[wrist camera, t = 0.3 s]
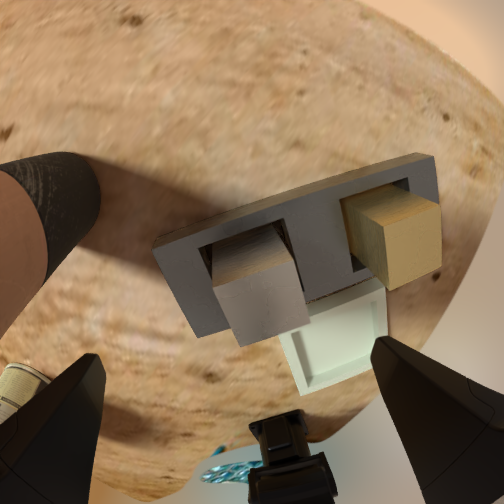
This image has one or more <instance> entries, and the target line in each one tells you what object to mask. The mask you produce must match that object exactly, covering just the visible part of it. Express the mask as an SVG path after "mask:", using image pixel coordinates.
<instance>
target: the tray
mask: <svg viewBox="0 0 504 504" xmlns="http://www.w3.org/2000/svg"><path fill="white" fill-rule="evenodd" d="M306 307H307V310H308V314H309V318H310V321H311V323H310V324H307V325H305V326H302V327H299V328H296V329H294V330H291V331H288V332H285V333H282V334H279V335H278V336H279V339H280V341H281V344H282V347H283V350H284V352H285V355H286V358H287V360H288V363H289V366H290V369H291V371H292V374H293V377H294V379H295V382H296V385H297V388H298V390H299V393H300V396H303V395H306V394H309V393H311V392H314V391H317V390H320V389H322V388H325V387H328V386H330V385H333V384H336V383H338V382H341V381H343V380H346V379H348V378H350V377H353V376H355V375H358V374H360V373H362V372H364V371H367V370H369V369H371V368H373V367H372V364H371V361H370V355H371V351H372V348H373V345H374V342H375V339H376V338H377V337H380V336H385V335H387V336H388V328H387V306H386V291H385V286H384V285H383V284H382V283H381V282H380V281H379V280H378V279H377V278H376V277H375V278H372V279H370V280H368V281H365V282H363V283H360V284H358V285H355V286H353V287H350V288H348V289H345V290H343V291H340V292H338V293H335V294H332V295H330V296H327V297H325V298H322V299H319V300H317V301H314V302H311V303H309V304H306Z"/></svg>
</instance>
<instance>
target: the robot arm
mask: <svg viewBox="0 0 504 504" xmlns="http://www.w3.org/2000/svg"><path fill="white" fill-rule="evenodd" d="M370 361H371V364H372V367H373V370H374V373H375V376H376V379H377V382H378V386H379V389H380V392H381V395H382V397H383V400H384V402H385V404H386V407H387V409H388V411H389V413H390V415H391V418H392V420H393V422H394V425H395V427H396V429H397V432H398V434H399V436H400V438H401V441H402V444H403V446H404V448H405V451H406V453H407V456H408V458H409V461H410V463H411V465H412V468H413V471H414V473H415V475H416V478H417V481H418V483H419V486H420V489H421V491H422V495H423V497H424V500H425V503H426V504H504V395H503V394H501V393H499V392H496V391H494V390H492V389H489V388H487V387H485V386H483V385H481V384H479V383H477V382H475V381H473V380H471V379H469V378H466V377H465V376H463V375H461V374H459V373H458V372H456V371H454V370H452V369H450V368H448V367H446V366H444V365H442V364H441V363H439V362H437V361H435V360H433V359H431V358H429V357H427V356H425V355H423V354H422V353H420V352H418V351H416V350H414V349H412V348H410V347H409V346H407V345H405V344H403V343H401V342H399V341H397V340H396V339H394V338H392V337H390V336H387V335H385V336H380V337H377V338H376V339H375V342H374V345H373V348H372V351H371V355H370ZM105 384H106V372H105V370H104V367H103V365H102V362H101V359H100V357H99V355H98V354H94V353H86V354H84V355H83V356H82V357H81V358H79V359H78V360H77V361H76V362H74V363H73V364H72V365H71V366H69V367H68V368H67V369H66V370H65V371H63V372H62V373H61V374H60V375H59V376H57V377H56V378H55V379H54V380H52V381H51V382H50V383H49V384H48V385H46V386H45V387H44V388H43V389H42V390H40V391H39V392H38V393H37V394H36V395H35V396H33V397H32V398H31V399H30V400H29V401H27V402H26V403H25V404H24V405H23V406H22V407H20V408H19V409H18V410H17V412H14V413H13V414H12V415H11V416H10V417H9V418H7V419H6V420H5V421H4V422H2V423H1V424H0V504H88V500H89V492H90V491H89V490H90V483H91V476H92V470H93V463H94V457H95V451H96V446H97V440H98V435H99V430H100V425H101V419H102V412H103V402H104V392H105ZM249 429H250V431H251V432H252V433H253V435H254V436H255V438H256V439H257V440H258V442H259V444H260V450H261V455H262V461H263V466H264V467H260V468H250V473H249V474H248V481H249V494H248V503H249V504H335V502H334V499H333V497H336V496H338V492H337V487H336V483H335V480H334V477H333V474H332V472H331V469H330V467H329V464H328V462H327V459H326V457H325V454H324V452H320V453H319V454H316V455H312V456H311V454H310V450H309V447H308V443H307V440H306V437H305V436H306V435H308V434H309V433H308V430H307V427H306V425H305V422H304V420H303V417H302V415H301V412H300V411H299V410H296V411H293V412H289V413H286V414H283V415H280V416H276V417H273V418H269V419H266V420H262V421H259V422H255V423H251V424H249Z"/></svg>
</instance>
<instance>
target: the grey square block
mask: <svg viewBox="0 0 504 504" xmlns="http://www.w3.org/2000/svg"><path fill="white" fill-rule="evenodd" d="M212 288H213V291H214V293H215V295H216V297H217V299H218V301H219V304H220V306H221V308H222V310H223V312H224V314H225V316H226V318H227V321H228V323H229V325H230V327H231V329H232V331H233V333H234V335H235V337H236V339H237V341H238V343H239V345H240V347H243V346H246V345H249V344H252V343H255V342H259V341H262V340H265V339H268V338H271V337H274V336H276V335H279V334H282V333H285V332H288V331H291V330H294V329H296V328H299V327H302V326H305V325H307V324H310V323H311V321H310V318H309V314H308V310H307V307H306V303H305V299H304V296H303V292H302V288H301V285H300V281H299V278H298V274H297V271H296V267H295V264H294V260H293V258H292V257H291V255H290V253H289V252H288V250H287V248H286V247H285V245H284V243H283V242H282V240H281V238H280V237H279V235H278V233H277V232H276V230H275V229H274V227H273V225H272V224H271V222H270V223H267V224H264V225H261V226H258V227H255V228H253V229H250V230H247V231H244V232H241V233H238V234H235V235H233V236H230V237H227V238H224V239H221V240H219V241H216V242H213V243H212Z"/></svg>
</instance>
